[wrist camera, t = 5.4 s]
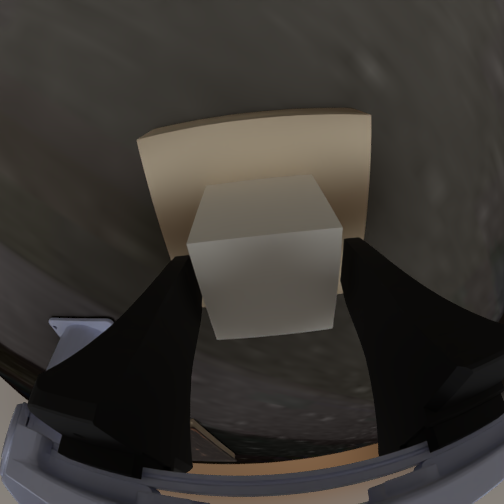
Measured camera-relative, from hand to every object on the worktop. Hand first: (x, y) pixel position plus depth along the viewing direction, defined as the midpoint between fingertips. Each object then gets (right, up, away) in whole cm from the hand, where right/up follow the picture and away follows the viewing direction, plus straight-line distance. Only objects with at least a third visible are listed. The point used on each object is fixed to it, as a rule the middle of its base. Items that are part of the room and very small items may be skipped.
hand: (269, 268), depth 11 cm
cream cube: (0, +2, +3) cm, 3 cm away
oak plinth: (0, +4, +5) cm, 6 cm away
